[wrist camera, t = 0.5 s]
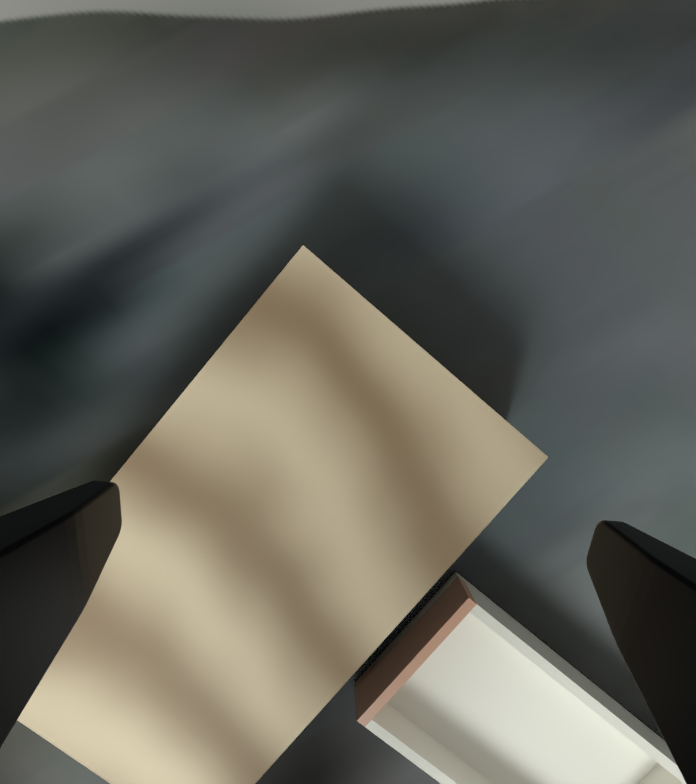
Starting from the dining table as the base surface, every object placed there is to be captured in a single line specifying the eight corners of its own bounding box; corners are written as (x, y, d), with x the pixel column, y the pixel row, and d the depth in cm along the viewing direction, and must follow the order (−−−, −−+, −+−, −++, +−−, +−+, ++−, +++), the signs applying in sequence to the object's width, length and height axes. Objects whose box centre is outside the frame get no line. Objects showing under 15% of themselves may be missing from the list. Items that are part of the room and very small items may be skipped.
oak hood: (225, 745, 26) (200, 844, 21) (29, 605, 24) (-49, 675, 19) (503, 431, 24) (548, 457, 19) (309, 264, 23) (303, 244, 18)
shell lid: (572, 847, 27) (596, 899, 25) (354, 683, 25) (356, 721, 23) (671, 746, 27) (706, 789, 24) (455, 571, 25) (468, 597, 22)
